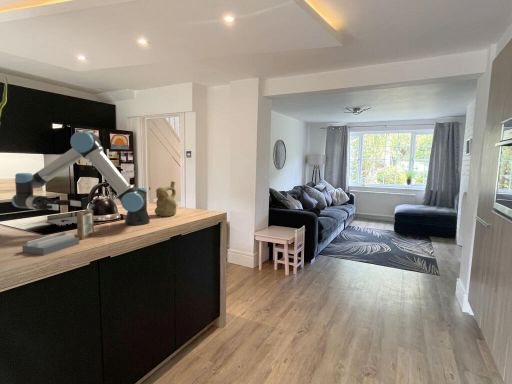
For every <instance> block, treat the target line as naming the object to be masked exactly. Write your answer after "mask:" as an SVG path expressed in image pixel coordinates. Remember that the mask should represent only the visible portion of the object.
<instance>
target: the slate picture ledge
mask: <svg viewBox="0 0 512 384" xmlns="http://www.w3.org/2000/svg"><path fill="white" fill-rule="evenodd" d="M79 244H80V240H79V238H78V237H76V236H75V233H74V232H73V233H67V234H66V232H65V231H63V232H59V233H58V232H57V233H56V234H52V235H48V236H44V237H40V238H39V237H38V238H36V239H32V240H28V241H26V244H24V245H22V253H27V254H32V255H33V254H34V255H42V256H46V255H49V254H52V253H55V252H58V251H61V250H64V249H67V248H70V247H73V246H77V245H79Z"/></svg>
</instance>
